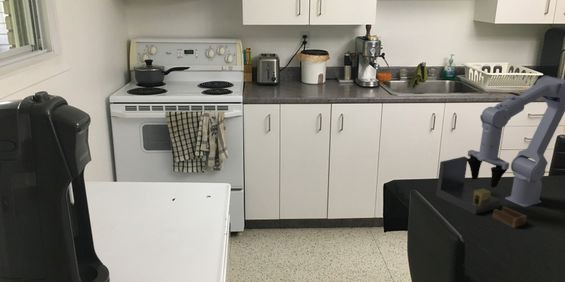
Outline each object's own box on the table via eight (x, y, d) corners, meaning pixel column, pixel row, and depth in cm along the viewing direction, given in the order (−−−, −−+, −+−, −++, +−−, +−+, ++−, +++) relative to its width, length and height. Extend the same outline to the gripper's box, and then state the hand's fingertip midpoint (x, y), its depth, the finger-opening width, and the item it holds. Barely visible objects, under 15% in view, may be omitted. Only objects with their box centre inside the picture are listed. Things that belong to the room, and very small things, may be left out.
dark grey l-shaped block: (459, 189, 179) (464, 156, 175) (499, 207, 165) (505, 172, 161) (436, 195, 173) (440, 161, 169) (475, 215, 159) (480, 178, 155)
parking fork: (503, 214, 160) (504, 206, 159) (525, 224, 154) (526, 216, 153) (492, 217, 158) (493, 209, 157) (514, 228, 151) (515, 219, 150)
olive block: (480, 204, 167) (483, 188, 165) (488, 207, 164) (491, 191, 162) (471, 206, 165) (474, 190, 163) (479, 210, 162) (482, 194, 160)
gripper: (463, 139, 162) (458, 177, 166) (501, 152, 150) (494, 192, 154) (478, 136, 165) (472, 173, 169) (516, 149, 153) (509, 188, 157)
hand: (484, 182), depth 162 cm, fingers open, 7 cm apart
